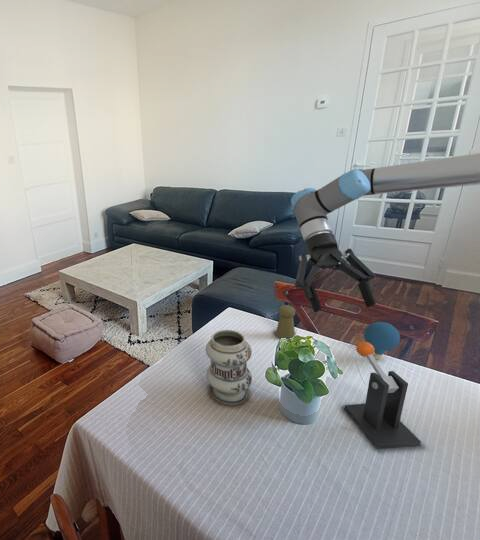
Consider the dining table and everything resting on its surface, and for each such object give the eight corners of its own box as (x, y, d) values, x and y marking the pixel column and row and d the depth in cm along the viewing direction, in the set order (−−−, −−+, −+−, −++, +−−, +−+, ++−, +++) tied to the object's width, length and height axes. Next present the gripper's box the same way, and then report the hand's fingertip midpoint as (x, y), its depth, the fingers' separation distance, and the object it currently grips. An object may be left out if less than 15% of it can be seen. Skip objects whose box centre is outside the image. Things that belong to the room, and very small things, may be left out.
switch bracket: (344, 408, 85) (350, 363, 80) (380, 405, 85) (389, 359, 80) (377, 449, 74) (388, 398, 69) (420, 445, 73) (433, 395, 69)
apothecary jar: (218, 373, 103) (217, 321, 97) (258, 388, 95) (260, 333, 89) (198, 396, 95) (196, 341, 88) (240, 414, 87) (241, 356, 81)
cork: (279, 328, 122) (281, 301, 118) (297, 333, 118) (299, 305, 114) (272, 336, 118) (274, 308, 114) (290, 341, 114) (293, 312, 110)
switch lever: (350, 347, 84) (356, 339, 81) (365, 346, 84) (371, 338, 81) (379, 394, 75) (386, 387, 73) (395, 393, 75) (403, 386, 73)
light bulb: (373, 347, 106) (379, 314, 102) (402, 361, 99) (409, 326, 94) (353, 355, 104) (359, 321, 99) (382, 370, 96) (389, 334, 92)
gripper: (355, 239, 100) (384, 308, 91) (270, 248, 101) (290, 316, 92) (371, 226, 93) (403, 298, 84) (279, 235, 94) (301, 308, 85)
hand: (344, 308), depth 88 cm, fingers open, 13 cm apart
